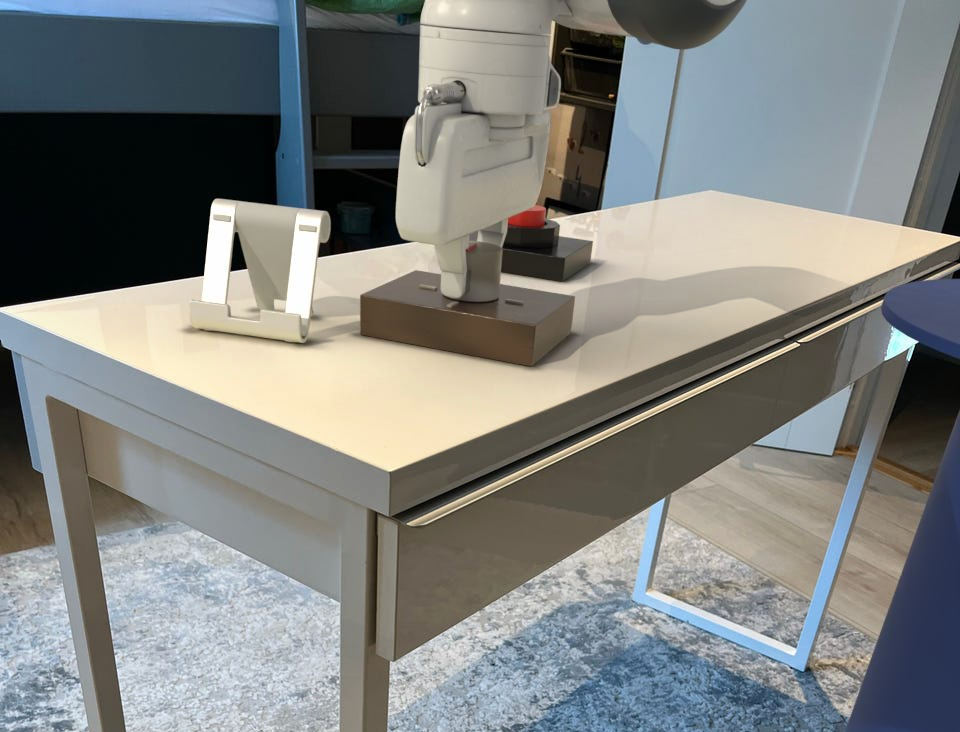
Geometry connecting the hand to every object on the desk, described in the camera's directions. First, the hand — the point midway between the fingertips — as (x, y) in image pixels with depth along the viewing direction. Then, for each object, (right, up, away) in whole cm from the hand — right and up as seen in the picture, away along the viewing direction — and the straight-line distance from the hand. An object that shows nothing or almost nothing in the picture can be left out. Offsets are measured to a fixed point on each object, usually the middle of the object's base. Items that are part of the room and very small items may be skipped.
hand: (469, 287), depth 74 cm
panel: (0, -3, +2) cm, 4 cm away
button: (+5, +15, +23) cm, 27 cm away
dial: (0, -1, 0) cm, 1 cm away
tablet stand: (-16, -3, 0) cm, 16 cm away
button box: (+5, +12, +25) cm, 28 cm away
